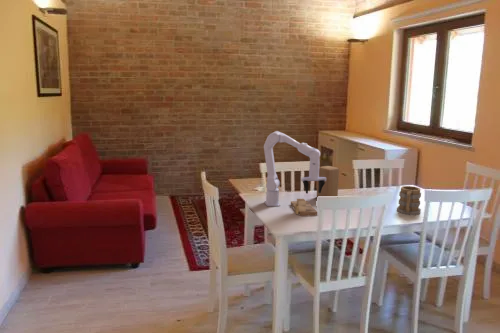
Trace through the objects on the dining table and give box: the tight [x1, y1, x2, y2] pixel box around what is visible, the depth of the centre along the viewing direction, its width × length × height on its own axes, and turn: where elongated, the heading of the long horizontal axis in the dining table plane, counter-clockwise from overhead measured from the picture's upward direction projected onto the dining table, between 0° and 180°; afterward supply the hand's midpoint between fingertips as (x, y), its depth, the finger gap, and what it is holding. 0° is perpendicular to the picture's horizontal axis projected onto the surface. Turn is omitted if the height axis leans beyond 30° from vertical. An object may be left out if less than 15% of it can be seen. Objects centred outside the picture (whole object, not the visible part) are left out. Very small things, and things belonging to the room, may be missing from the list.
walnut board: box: [290, 200, 318, 217], centre depth 260 cm, size 22×10×2 cm, turn 8°
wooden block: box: [316, 165, 340, 198], centre depth 284 cm, size 10×10×20 cm
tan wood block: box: [294, 198, 307, 215], centre depth 252 cm, size 5×5×8 cm
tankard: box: [396, 185, 422, 216], centre depth 256 cm, size 20×13×15 cm, turn 152°
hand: (313, 193), depth 261 cm, fingers open, 7 cm apart
